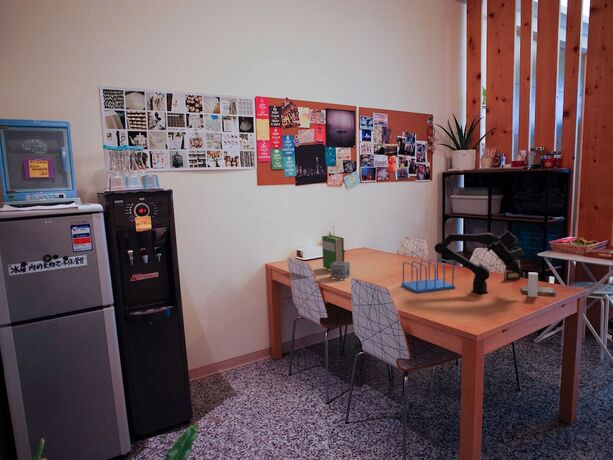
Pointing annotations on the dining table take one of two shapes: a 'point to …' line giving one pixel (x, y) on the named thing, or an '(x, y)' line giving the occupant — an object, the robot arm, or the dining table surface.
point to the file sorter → (428, 284)
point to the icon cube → (340, 270)
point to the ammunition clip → (511, 274)
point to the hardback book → (332, 250)
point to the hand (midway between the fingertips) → (522, 275)
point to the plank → (540, 291)
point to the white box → (532, 284)
